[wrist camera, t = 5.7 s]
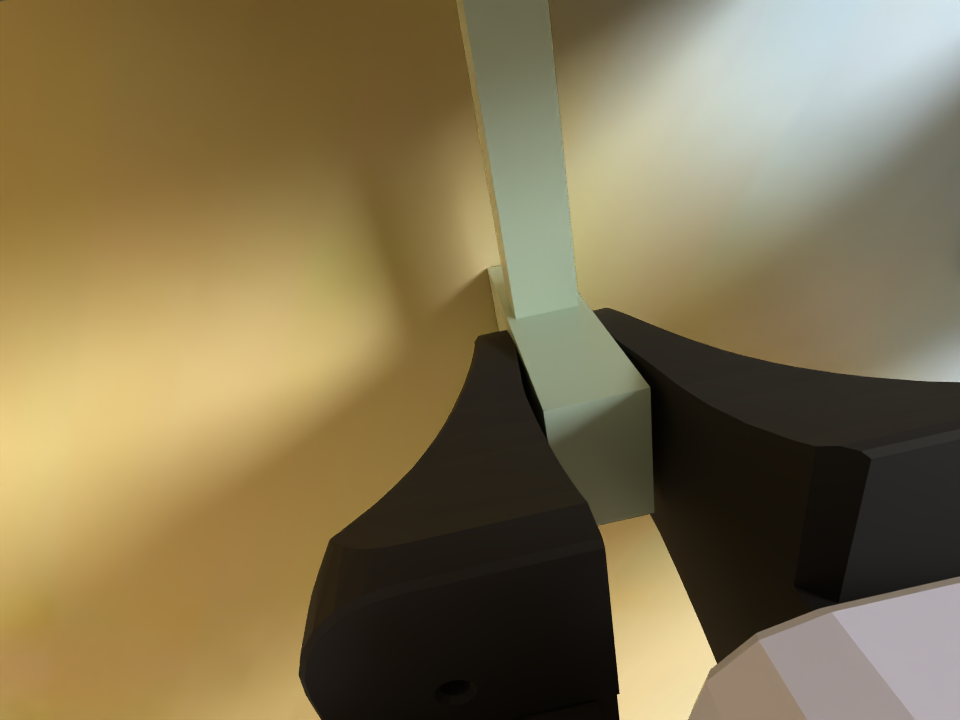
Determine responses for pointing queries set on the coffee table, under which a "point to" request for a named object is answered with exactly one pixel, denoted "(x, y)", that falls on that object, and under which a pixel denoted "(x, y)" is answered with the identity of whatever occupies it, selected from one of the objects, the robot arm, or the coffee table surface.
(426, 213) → the coffee table surface
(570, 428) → the pale green mallet
